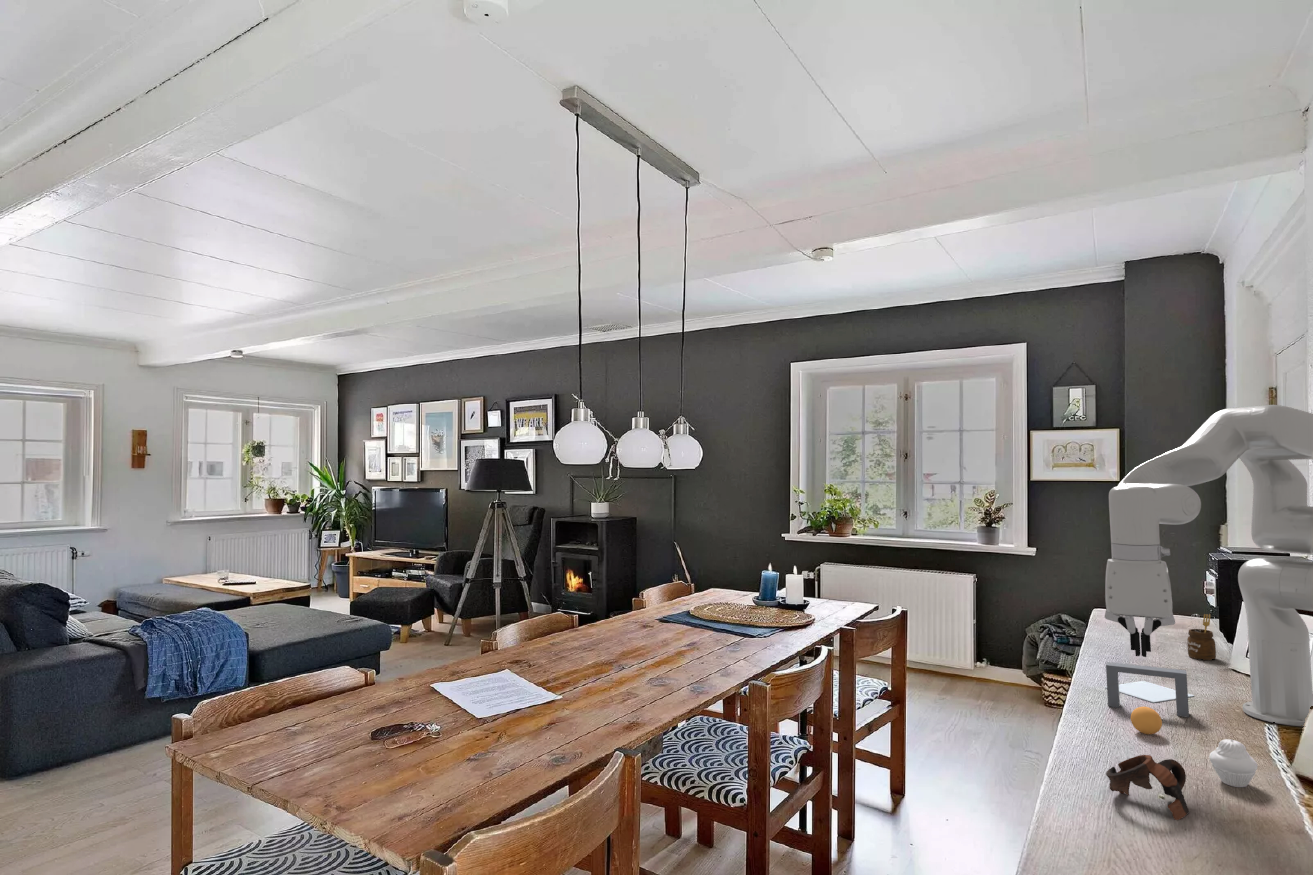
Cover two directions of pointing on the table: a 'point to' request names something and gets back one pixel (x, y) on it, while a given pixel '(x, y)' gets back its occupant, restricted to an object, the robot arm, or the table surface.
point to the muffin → (1233, 763)
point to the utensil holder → (1201, 642)
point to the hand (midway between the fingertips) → (1141, 654)
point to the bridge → (1177, 674)
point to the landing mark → (1148, 691)
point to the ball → (1146, 720)
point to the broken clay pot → (1139, 775)
